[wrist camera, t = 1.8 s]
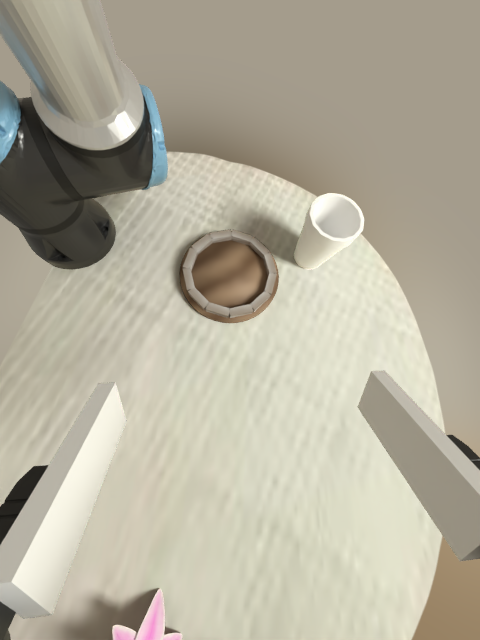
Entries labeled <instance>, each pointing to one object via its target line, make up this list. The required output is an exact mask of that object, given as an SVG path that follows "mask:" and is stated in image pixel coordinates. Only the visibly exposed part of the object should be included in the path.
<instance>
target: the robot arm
mask: <svg viewBox="0 0 480 640" xmlns="http://www.w3.org/2000/svg"><path fill="white" fill-rule="evenodd" d="M0 36H1V37H2V38H3V40H4V41H5V43H6V44H7V46H8V47H9V49H10V50H11V51H12V53H13V54H14V56H15V57H16V59H17V60H18V62H19V63H20V65H21V66H22V67H23V69H24V70H25V72H26V73H27V75H28V76H29V78H30V79H31V86H30V87H31V89H30V90H31V97H29V98H17V97H16V95H15V94H14V92H13V91H12V90H11V89H10V88H8V87H7V86H6V85H5V84H4V83H3V82H1V81H0V214H1V215H2V216H4V217H5V218H6V219H8V220H9V221H11V222H12V223H13V224H14V225H16V226H17V227H18V228H19V230H20V231H21V232H22V234H23V236H24V237H25V239H26V241H27V242H28V244H29V245H30V247H31V248H32V250H33V251H34V252H35V253H36V254H37V255H38V256H40V257H41V258H42V259H44V260H45V261H47V262H48V263H50V264H52V265H53V266H56V267H59V268H64V269H79V268H84V267H87V266H90V265H92V264H94V263H96V262H98V261H99V260H101V259H102V258H103V257H104V256H105V255H106V254H107V253H108V252H109V251H110V249H111V248H112V246H113V244H114V241H115V235H116V230H115V225H114V222H113V220H112V219H111V217H110V216H109V214H108V212H107V211H106V210H105V209H104V207H103V206H102V205H100V204H99V203H98V202H97V201H95V200H94V199H92V198H96V197H101V196H107V195H112V194H117V193H123V192H128V191H134V190H140V189H142V190H146V189H149V187H153V186H157V185H160V184H162V183H163V182H164V181H165V180H166V178H167V173H168V164H167V153H166V148H165V145H164V134H163V129H162V124H161V120H160V116H159V112H158V109H157V105H156V103H155V99H154V97H153V94H152V92H151V91H150V89H149V88H148V87H147V86H144V85H140V84H138V82H137V79H136V78H135V76H134V75H133V73H132V71H131V70H130V69H129V68H128V67H127V66H126V65H125V64H124V63H123V62H122V61H121V60H120V59H119V58H118V57H117V54H116V50H115V47H114V44H113V41H112V37H111V34H110V31H109V28H108V24H107V21H106V18H105V14H104V11H103V8H102V5H101V1H100V0H0ZM358 409H359V410H360V412H361V413H362V415H363V416H364V418H365V419H366V421H367V422H368V424H369V425H370V427H371V428H372V430H373V431H374V433H375V434H376V436H377V437H378V439H379V440H380V442H381V443H382V445H383V446H384V448H385V449H386V451H387V452H388V454H389V455H390V457H391V458H392V460H393V461H394V463H395V464H396V466H397V467H398V469H399V470H400V472H401V473H402V475H403V476H404V478H405V479H406V481H407V482H408V484H409V485H410V487H411V488H412V490H413V491H414V493H415V494H416V496H417V497H418V499H419V501H420V502H421V504H422V505H423V507H424V508H425V510H426V511H427V513H428V514H429V516H430V517H431V519H432V520H433V522H434V523H435V525H436V526H437V528H438V529H439V531H440V532H441V534H442V535H443V537H444V538H445V540H446V541H447V543H448V544H449V545H450V547H451V548H452V550H453V552H454V553H455V555H456V556H457V558H458V559H459V560H460V561H465V560H473V559H480V458H479V457H478V456H477V455H476V454H475V453H474V452H473V451H472V450H471V449H470V448H469V447H468V446H467V445H465V444H464V443H463V442H462V441H460V440H459V439H457V438H456V437H454V436H453V435H445V433H444V432H443V431H442V430H441V429H440V428H439V427H438V426H437V425H436V424H435V423H434V422H433V421H432V420H431V419H430V418H429V417H428V416H427V415H426V414H425V412H424V411H423V410H422V409H421V408H420V407H419V406H418V405H417V404H416V403H415V402H414V401H413V400H412V399H411V398H410V397H409V396H408V395H407V394H406V393H405V391H404V390H403V389H402V388H401V387H400V386H399V385H398V384H397V383H396V382H395V381H394V380H393V379H392V378H391V377H390V376H389V375H388V374H387V373H386V372H385V371H371V373H370V376H369V379H368V381H367V384H366V387H365V389H364V392H363V394H362V397H361V400H360V402H359V405H358ZM126 422H127V420H126V417H125V413H124V410H123V406H122V403H121V400H120V396H119V393H118V390H117V386H116V383H115V382H111V383H98V385H97V387H96V388H95V390H94V391H93V393H92V395H91V396H90V398H89V400H88V401H87V403H86V405H85V406H84V408H83V410H82V411H81V413H80V415H79V416H78V418H77V419H76V421H75V423H74V424H73V426H72V428H71V429H70V431H69V433H68V434H67V436H66V438H65V439H64V441H63V443H62V444H61V446H60V447H59V449H58V451H57V452H56V454H55V456H54V457H53V459H52V461H51V462H50V464H49V465H46V466H34V467H33V468H32V469H31V470H29V471H28V472H27V473H26V474H25V475H24V476H23V477H22V478H21V479H20V480H19V481H18V482H17V483H16V485H15V486H14V488H13V489H12V491H11V492H10V494H9V495H8V496H7V498H6V499H5V503H4V504H2V505H1V507H0V640H11V639H10V634H9V631H8V628H9V626H10V624H11V622H12V620H13V617H14V615H15V613H16V614H17V615H19V616H20V617H22V618H23V619H26V618H34V617H41V616H49V615H53V612H54V609H55V607H56V604H57V602H58V599H59V596H60V594H61V591H62V589H63V586H64V583H65V581H66V578H67V575H68V573H69V570H70V568H71V565H72V562H73V560H74V557H75V555H76V552H77V549H78V547H79V544H80V542H81V539H82V536H83V534H84V531H85V529H86V526H87V523H88V521H89V518H90V515H91V513H92V510H93V508H94V505H95V502H96V500H97V497H98V495H99V492H100V489H101V487H102V484H103V482H104V479H105V476H106V474H107V471H108V469H109V466H110V463H111V461H112V458H113V455H114V453H115V450H116V448H117V445H118V442H119V440H120V437H121V435H122V432H123V429H124V427H125V424H126Z"/></svg>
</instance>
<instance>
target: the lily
mask: <svg viewBox="0 0 480 640" xmlns="http://www.w3.org/2000/svg"><path fill="white" fill-rule="evenodd" d="M164 631H165V609H164V598H163V593H162V591H161V589H158V591H157V593H156V594H155V596H154V598H153V601H152V603H151V605H150V607H149V609H148V612H147V614H146V616H145V618H144V620H143V622H142V624H141V627H140V629H139V631H138V633H137V632H136V631H134V630H132V629H130V628H128V627H125V626H121V625H114V626H113V629H112V634H113V640H182V637H183V636H182V634H181V633H170V634H166V635H164Z"/></svg>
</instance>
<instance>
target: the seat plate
mask: <svg viewBox="0 0 480 640" xmlns="http://www.w3.org/2000/svg"><path fill="white" fill-rule="evenodd" d="M278 278H279V276H278V269H277V265H276V262H275V260H274V258H273V256H272V254H271V253H270V251H269V250H268V249H267V248H266V247H265V246H264V245H263V244H262V243H261V242H260V241H259V240H258V239H257V238H255V237H253V236H252V235H249V234H246V233H242V232H239V231H236V230H232V231H231V229H230V230H223V231H217V232H211V233H210V234H206V235H205V236H203V237H202V238H200V239H199V240H197V241H196V242H195V243H194V244H192V246H191V247H190V248H189V249H188V250H187V252H186V253H185V255H184V257H183V260H182V263H181V267H180V283H181V286H182V290H183V292H184V295H185V297H186V298H187V300H188V302H189V303H190V304H191V305H192V307H193V308H194V309H195V310H197V311H198V312H199V313H200V314H202V315H203V316H205V317H207V318H209V319H212V320H214V321H218V322H223V323H238V322H243V321H246V320H249V319H251V318H254V317H255V316H257V315H259V314H260V313H261V312H262V311H264V310H265V309H266V308H267V306H268V305H269V304H270V302H271V301H272V300H273V298H274V296H275V294H276V291H277V287H278Z"/></svg>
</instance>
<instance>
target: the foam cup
mask: <svg viewBox="0 0 480 640" xmlns="http://www.w3.org/2000/svg"><path fill="white" fill-rule="evenodd" d="M363 226H364V217H363V214H362V211H361V209H360V208H359V207H358V206H357V204H356V203H355V202H354V201H353V200H352V199H350V198H347V197H346V196H344V195H342V194H334V193H328V194H325V195H321V196H319V197H318V198H317V199H316V200H315V201H314V202H313V203H312V204H311V206H310V208H309V210H308V212H307V214H306V218H305V223H304V226H303V228H302V231H301V234H300V237H299V240H298V242H297V245H296V248H295V252H294V259H295V261H296V263H297V264H298V265H299V266H300V267H302V268H304V269H309V270H312V269H314V268H317V267H319V266H320V265H321V264H323V263H324V262H325V261H327V260H328V259H329V258H331V257H332V256H333V255H335V254H336V253H338V252H339V251H340V250H342V249H343V248H344V247H347V246H349V245H350V244H351V243H352V242H353V241H354V240H355V239H356V238H357V236H358V235H359V234H360V233H361V232H362V230H363Z"/></svg>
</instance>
